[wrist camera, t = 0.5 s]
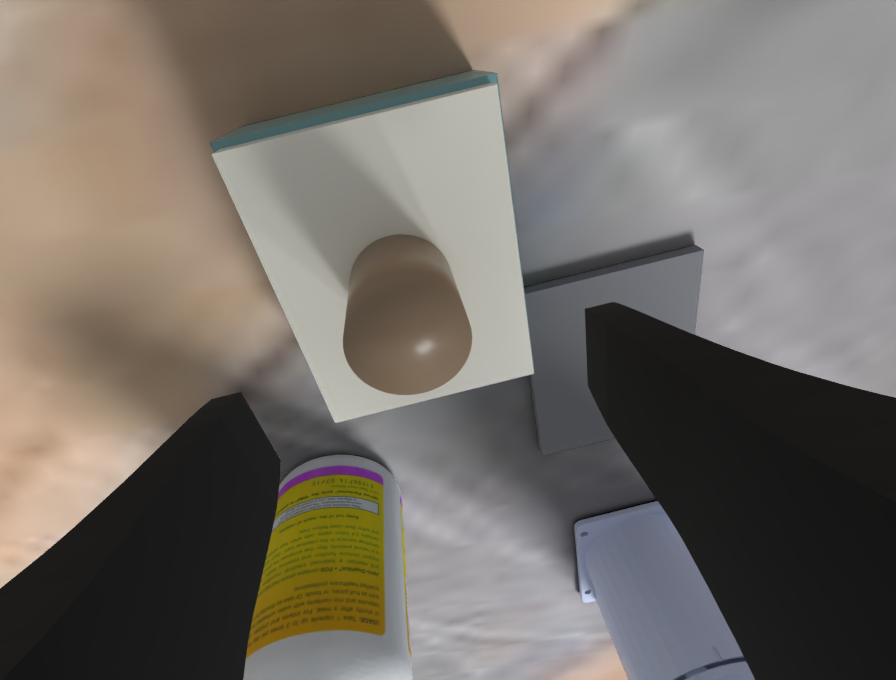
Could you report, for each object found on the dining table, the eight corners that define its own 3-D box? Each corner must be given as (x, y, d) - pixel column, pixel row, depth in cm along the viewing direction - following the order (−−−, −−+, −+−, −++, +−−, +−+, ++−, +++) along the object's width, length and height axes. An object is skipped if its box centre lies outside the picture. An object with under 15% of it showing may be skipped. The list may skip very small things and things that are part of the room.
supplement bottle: (250, 479, 24) (144, 835, 13) (364, 429, 23) (353, 762, 12) (320, 545, 27) (284, 869, 16) (421, 504, 26) (452, 814, 16)
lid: (520, 347, 18) (568, 442, 14) (338, 393, 18) (326, 502, 14) (483, 81, 13) (539, 93, 9) (230, 143, 13) (153, 187, 9)
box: (510, 320, 21) (533, 364, 18) (339, 363, 21) (333, 414, 18) (473, 69, 15) (496, 72, 12) (241, 126, 15) (209, 143, 12)
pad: (679, 413, 25) (685, 420, 25) (539, 448, 25) (542, 456, 25) (695, 245, 20) (704, 250, 19) (517, 289, 20) (521, 295, 19)
